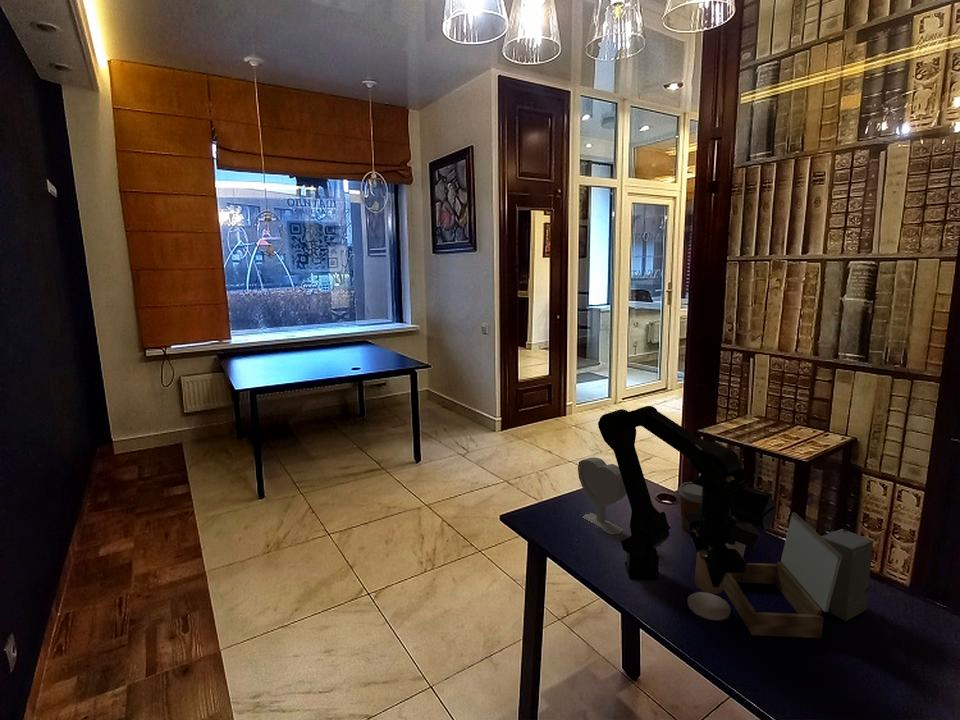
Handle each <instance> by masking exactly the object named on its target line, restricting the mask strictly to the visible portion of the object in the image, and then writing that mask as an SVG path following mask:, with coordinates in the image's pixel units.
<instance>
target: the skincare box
mask: <svg viewBox="0 0 960 720" xmlns="http://www.w3.org/2000/svg"><path fill="white" fill-rule="evenodd" d="M820 536H821V537H822V538H823V539H824V540H825V541H827V542H828V543H829V544H830V545H831V546H832V547H833V548H834V549H835V550H836V551H837V552H838V553H840V554H841V555H842V556H843V557H842V561H841V562H840V566H839V570H838V574H837V578H836V582H835V585H834V589H833V593H832V597H831V601H830V605H829V608H828V612H827V613H830V614H832V615H833V616H835V617H837V618H839V619H841V620H842V621H845V622H848V621H849V620H850V619H852V618H855V617H857V616H859V615H861V614H862V613H863V612H865V611H866V610H867V607H868V596H869V587H870V577H871V568H872V558H873V557H872V556H873V547H874V540H873V539H870V538H868V537H865V536H862V535H859V534H858V533H855V532H852V531H850V530H846V529H843V528H841V529H838V530H835V531H830V532H828V533H827V534H824V535H820ZM815 603H816V602H815ZM816 604H817V603H816ZM817 605H818V604H817ZM818 606H819V605H818ZM819 607H820V606H819ZM820 608H821V607H820ZM821 609H822V608H821Z"/></svg>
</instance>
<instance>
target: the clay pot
mask: <svg viewBox="0 0 960 720" xmlns="http://www.w3.org/2000/svg"><path fill="white" fill-rule="evenodd" d="M711 549H712V548H709V549H703V550H701V551H699V552H698V553H697V552H696V561H695V573H694V585H695V586H696V587H697V588H698V589H699V590H701V592H705V593H710V594H714V595H716V594H720V593H722V592H723V591H724V589H723V588H724V578H725V576H724V578H723V580H722V582H721V584H720V585H719V587H713V586H712V583H711V580H710V576H709V573H708V570H707V567H706V563H705V560H704V557H707V552H709V551H710V550H711Z"/></svg>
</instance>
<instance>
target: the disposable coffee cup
mask: <svg viewBox="0 0 960 720" xmlns="http://www.w3.org/2000/svg"><path fill="white" fill-rule="evenodd" d="M678 495H679V501H680V515H681V528H682V529H683V531H684V532H686V533H688V534H689V532H693V528H692V530H688V529H687V527H686V526H685V517H686V516H687V515H689V514H698V513H697V508H701V500H702V487H701V486H698V485H695V484H693V483H692V481H686V482H683V483H681V484H680V486H679V488H678Z"/></svg>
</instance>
